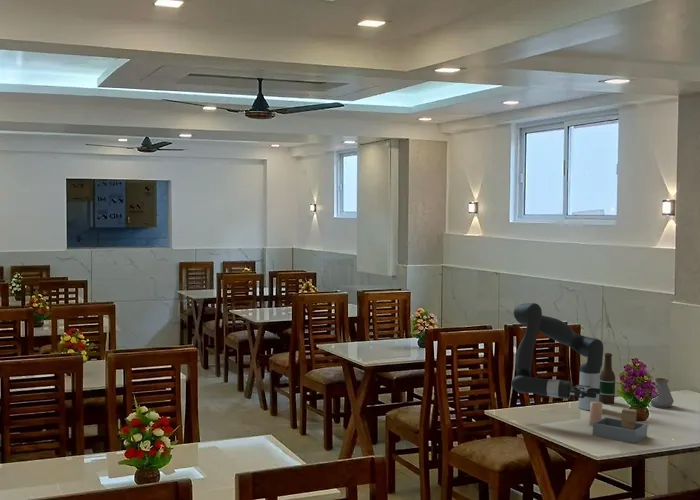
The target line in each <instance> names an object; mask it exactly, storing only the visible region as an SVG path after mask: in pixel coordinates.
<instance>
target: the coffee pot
mask: <svg viewBox="0 0 700 500" xmlns="http://www.w3.org/2000/svg"><path fill="white" fill-rule="evenodd" d="M654 380H655V383H654V384H655V385H656V388H657V391H658V393H659V395H658V397H657V398H655V399H653V400H652V401H651V403H650V404H651V406H653V407H656V408H662V409H663V408H664V409H666V408H670V406H672V405H673V404H674V399H673V396H672V393H671V391H670V388H669V385H668V383H669V381H670V380H669V379H667V378H662V377H655V378H654Z"/></svg>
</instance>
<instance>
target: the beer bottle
mask: <svg viewBox="0 0 700 500" xmlns="http://www.w3.org/2000/svg"><path fill="white" fill-rule="evenodd" d="M603 357H604V362H603V370H601V371H600V394H599V401H600V402H602V404H603V403H604V405H614V404H615V395H616V394H615V393H616V375H615V373H614V370H613V368H612V366H613V365H612V357H613V353H611V352H604V354H603Z"/></svg>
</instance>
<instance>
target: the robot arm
mask: <svg viewBox="0 0 700 500" xmlns="http://www.w3.org/2000/svg"><path fill="white" fill-rule="evenodd" d="M542 311H543V310H542V308H541V306H540V305H539V304H538V303H534V302H529V303H520V304H518V305H516V306H515V308H514V310H513V317H514V319H515V321H517V323H519V324H520V325H523V326H526V329H525V333H524V335H523V337H522V339H521V341H520V343H519V345H518V346H517V347H518V348H517V349H516V354H515V355H516V356H515V362H514V364H515V366H514V367H515V370H516V375H515V376H514V377H513V378H512V380H511V387H512V389H513V390H514V391H515V392H517V393H519V394H526V393H529V394H535V395H540V396H546V397H551V398H559V399H567V400H569V399H571V397H573V398H578V404H577V405H578V406H577V407H578V408H579V409H580V410H584V411H590V401H599V394H600V374H601V368H602V366H603V360H604V359H603V358H604V344H603V342H602V340H601V339H599V338H594V337H590V336H585V335H582V334H579V333H577V332H576V331H575V330H574V329H573V328H572V326H570V325H569V324H568V323H567V322H564V321H562V320H560V319H558V318H555V317H552V316H546V315H543V312H542ZM538 333H541V334H543V335H544V336H546V337H548V338H550V339H552V340H553V341H556V342H558V343H560V344H562V345H565V346H566V347H569V348H571V349H572V350H573V351H575V352H576V353H577V354H579V355H581V356H583V357H586V358H587V361H586V362H585V363H582V364H580V365H579V381H578V382H579V383H578V384H576V385H575V386H573V384H572V382H571V381H570V380H563V379H549V378H537V377H532V364H533V356H534V348H535V345H536V340H537V337H538Z"/></svg>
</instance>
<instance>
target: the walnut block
mask: <svg viewBox="0 0 700 500" xmlns="http://www.w3.org/2000/svg"><path fill="white" fill-rule="evenodd" d="M637 412H638V411H637V409H633V408H625V407H624V408H622V410H621V419H620V420H621V428H625V429H631V430H636V423H637Z"/></svg>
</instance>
